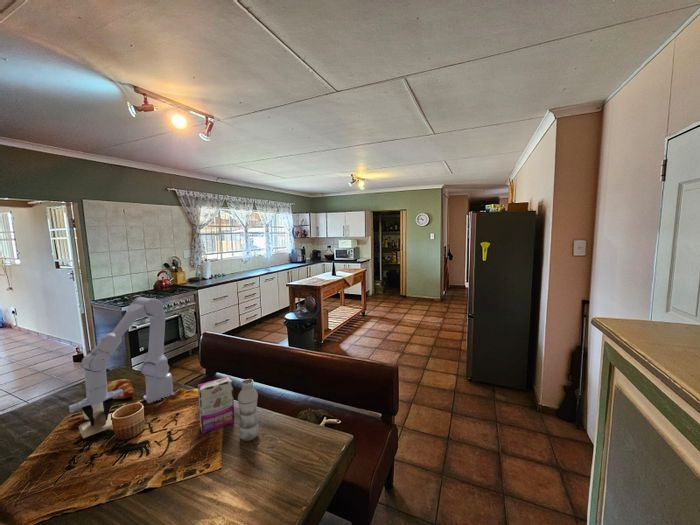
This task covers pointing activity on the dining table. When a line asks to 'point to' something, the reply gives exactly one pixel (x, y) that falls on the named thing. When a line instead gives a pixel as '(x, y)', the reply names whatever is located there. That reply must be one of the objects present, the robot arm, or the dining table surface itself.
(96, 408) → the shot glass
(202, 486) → the dining table surface
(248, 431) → the plastic bottle
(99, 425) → the lid
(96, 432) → the mat
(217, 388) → the candy bar box
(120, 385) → the croissant
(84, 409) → the robot arm
